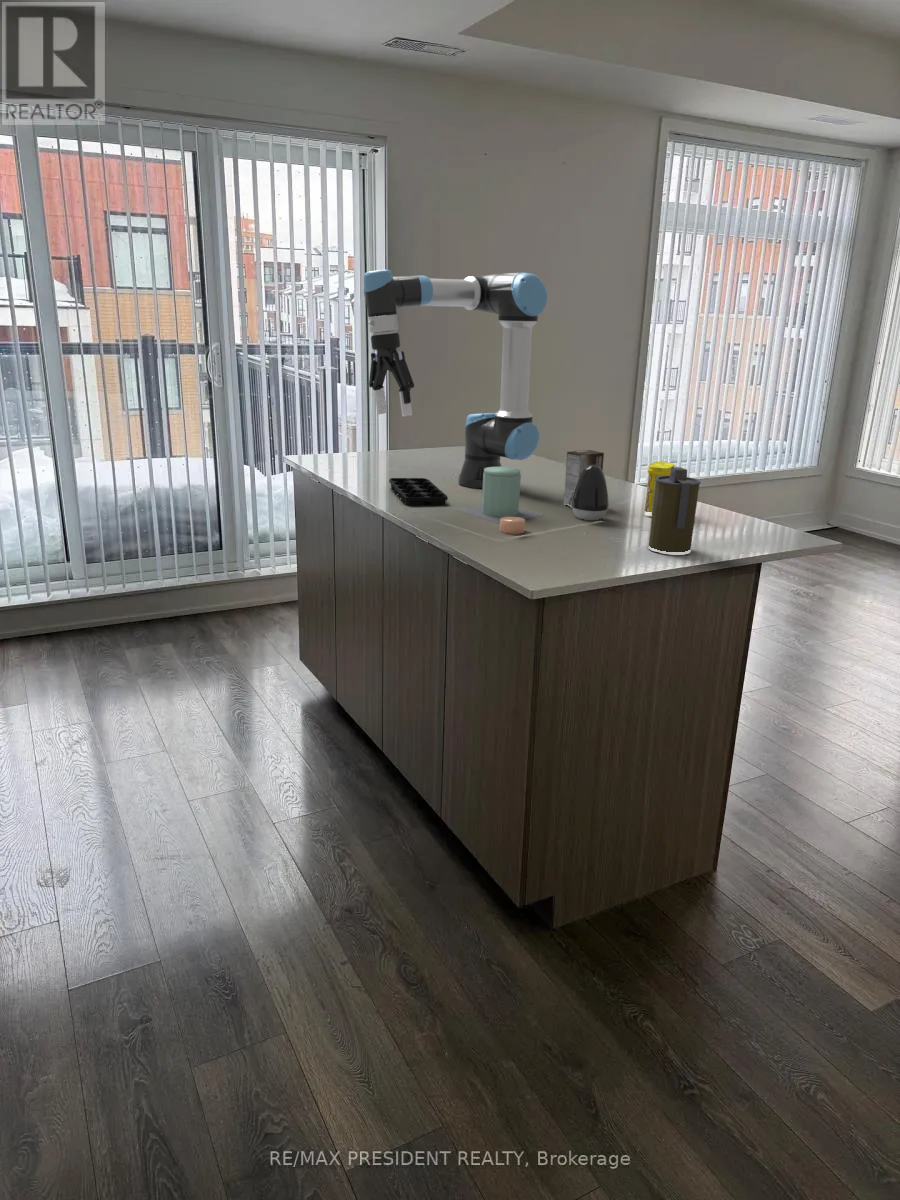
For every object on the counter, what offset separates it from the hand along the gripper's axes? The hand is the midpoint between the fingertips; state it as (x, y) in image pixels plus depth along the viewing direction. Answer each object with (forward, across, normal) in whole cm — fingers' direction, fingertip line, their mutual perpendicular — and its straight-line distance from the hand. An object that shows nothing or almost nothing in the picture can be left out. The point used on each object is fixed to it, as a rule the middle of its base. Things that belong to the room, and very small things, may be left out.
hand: (394, 414), depth 227 cm
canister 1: (+36, +35, +62) cm, 80 cm away
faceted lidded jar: (+29, +16, +21) cm, 40 cm away
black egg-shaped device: (+34, +31, +40) cm, 61 cm away
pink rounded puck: (+30, +34, +11) cm, 47 cm away
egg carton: (+28, -13, +12) cm, 33 cm away
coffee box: (+34, +17, +50) cm, 63 cm away
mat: (+30, +16, +21) cm, 40 cm away
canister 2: (+35, +65, +36) cm, 82 cm away
